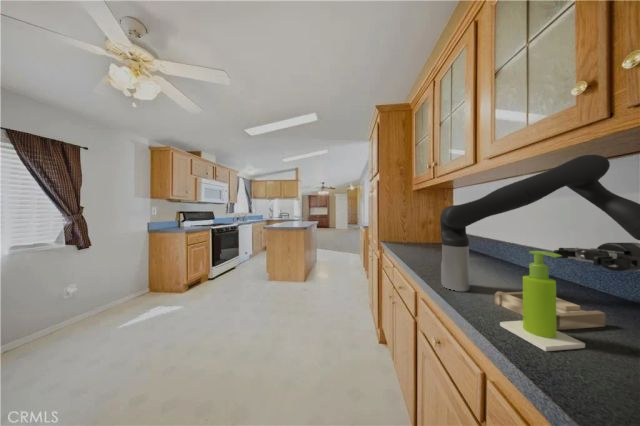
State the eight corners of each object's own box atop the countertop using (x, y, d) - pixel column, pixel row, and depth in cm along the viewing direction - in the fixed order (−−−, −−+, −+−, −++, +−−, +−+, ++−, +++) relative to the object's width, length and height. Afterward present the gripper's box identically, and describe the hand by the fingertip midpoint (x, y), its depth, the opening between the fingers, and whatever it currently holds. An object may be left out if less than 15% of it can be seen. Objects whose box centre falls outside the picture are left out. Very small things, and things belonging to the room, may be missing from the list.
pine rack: (494, 303, 74) (494, 291, 73) (537, 301, 75) (537, 289, 75) (552, 330, 57) (552, 315, 57) (605, 326, 59) (605, 311, 59)
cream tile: (500, 325, 60) (500, 322, 60) (533, 323, 61) (533, 319, 61) (545, 351, 49) (545, 346, 49) (585, 347, 50) (585, 343, 50)
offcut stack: (530, 305, 72) (530, 293, 72) (544, 304, 72) (544, 292, 72) (572, 322, 61) (572, 308, 61) (588, 321, 61) (588, 307, 61)
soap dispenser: (551, 342, 50) (551, 254, 50) (517, 327, 57) (516, 249, 57) (568, 338, 52) (568, 253, 52) (532, 323, 58) (532, 248, 58)
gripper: (592, 239, 66) (544, 239, 65) (672, 247, 52) (612, 247, 51) (591, 264, 67) (543, 264, 65) (670, 278, 52) (611, 280, 51)
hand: (573, 257), depth 58 cm, fingers open, 8 cm apart
